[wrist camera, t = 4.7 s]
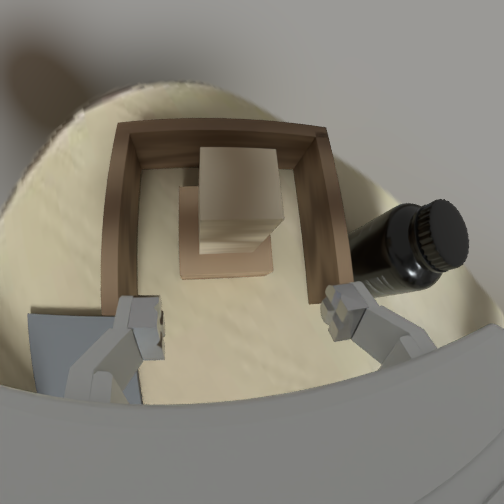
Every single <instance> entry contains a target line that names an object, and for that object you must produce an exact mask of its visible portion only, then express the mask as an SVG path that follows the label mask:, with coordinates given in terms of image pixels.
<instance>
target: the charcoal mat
mask: <svg viewBox="0 0 504 504" xmlns="http://www.w3.org/2000/svg"><path fill="white" fill-rule="evenodd" d="M114 320H115V317H99V316H65V315H45V314H29V313H28V330H29V342H30V351H31V359H32V366H33V373H34V379H35V384H36V389H37V393H39V394H44V395H49V396H55V397H62V398H64V395H65V389H66V384H67V379H68V375H69V370H70V367H71V366H72V365H73V364H74V363H75V362H76V361H77V360H78V359H79V358H80V357H81V356H82V355H83V354H84V353H85V352H86V351H87V350H88V349H89V348H90V347H91V346H92V345H93V344H94V343H95V342H96V341H97V340H98V339H99V338H100V337H101V336H102V335H103V334H104V333H105V332H106V331H107V330H108V329H109V328H113V325H114ZM123 394H124V396H125V397H126V399H127V401H128V402H129V404H143V402H142V396H141V389H140V382H139V375H138V370H137V371H136V373H135V374H134V376H133V377H132V378H131V380H130V381H129V383H128V384H127V386H126V387H125V389H124V390H123Z"/></svg>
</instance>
